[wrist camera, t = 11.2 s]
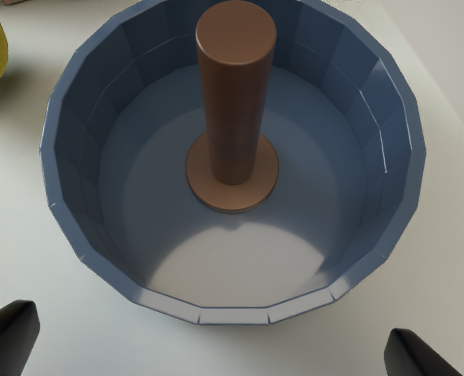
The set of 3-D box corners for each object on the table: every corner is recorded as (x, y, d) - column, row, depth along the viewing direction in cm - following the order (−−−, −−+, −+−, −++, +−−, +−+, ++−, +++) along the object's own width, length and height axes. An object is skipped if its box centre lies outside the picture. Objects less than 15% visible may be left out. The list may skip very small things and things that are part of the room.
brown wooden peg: (290, 198, 19) (354, 80, 9) (201, 226, 18) (172, 131, 9) (259, 119, 20) (287, -51, 11) (176, 143, 20) (128, -14, 10)
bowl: (422, 264, 18) (499, 244, 13) (125, 368, 17) (78, 392, 11) (309, 32, 23) (332, -50, 18) (68, 95, 21) (17, 24, 16)
